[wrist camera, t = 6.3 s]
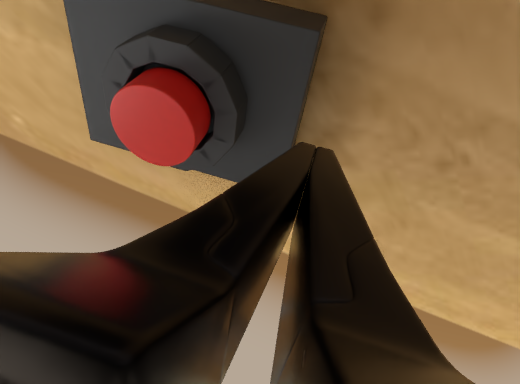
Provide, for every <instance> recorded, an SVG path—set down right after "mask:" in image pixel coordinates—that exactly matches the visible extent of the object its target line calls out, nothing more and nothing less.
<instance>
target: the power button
mask: <svg viewBox="0 0 520 384" xmlns="http://www.w3.org/2000/svg"><path fill="white" fill-rule="evenodd" d="M110 118H111V122H112V125H113V128H114V130H115V132H116V134H117V136H118V137H119V139H120V140H121V141H122V143H123V144H124V145H125V146H126V147H127V148H128V149H129V150H130V151H131V152H132V153H134V154H135V155H136V156H138V157H139V158H141V159H143V160H145V161H147V162H149V163H152V164H155V165H159V166H174V165H178V164H180V163H182V162H184V161H186V160H187V159H188V158H189V157H190V156H191V154H192V153H193V151H194V150H195V149H196V147H197V146H198V145H199V143H200V142H201V140H202V139H203V138H204V136H205V135H206V133H207V132H208V130H209V126H210V121H211V115H210V109H209V105H208V102H207V100H206V98H205V96H204V94H203V93H202V91H201V90H200V88H199V87H198V86H197V85H196V84H195V83H194V82H193V81H192V80H191V79H189V78H188V77H187V76H185V75H184V74H182V73H180V72H178V71H175V70H172V69H169V68H161V67H158V68H151V69H148V70H146V71H144V72H142V73H141V74H140V75H138V76H137V77H136V78H134V79H133V80H132V81H131V82H129V83H128V84H127V85H125V86H124V87H123V88H121V89H120V90H119V91H118V92H117V93H116V94H115V96H114V97H113V99H112V102H111V106H110Z"/></svg>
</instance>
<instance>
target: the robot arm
mask: <svg viewBox="0 0 520 384" xmlns="http://www.w3.org/2000/svg"><path fill="white" fill-rule="evenodd" d="M314 154H315V155H314ZM313 157H314V158H313ZM311 164H312V165H311ZM309 171H310V172H309ZM308 174H309V175H308ZM306 181H307V182H306ZM305 184H306V185H305ZM304 188H305V189H304ZM303 191H304V192H303ZM301 198H302V199H301ZM300 201H301V202H300ZM298 208H299V209H298ZM297 211H298V212H297ZM296 215H297V216H296ZM295 218H296V219H295ZM294 221H295V223H294ZM293 224H294V227H293ZM292 227H293V232H292V239H291V246H290V252H289V259H288V266H287V273H286V280H285V286H284V293H283V300H282V307H281V314H280V321H279V327H278V334H277V341H276V347H275V354H274V361H273V368H272V375H271V382H270V384H475V383H473V382H472V381H470V380H469V379H467V378H466V377H465V376H464V375H462V374H461V373H460V372H459V371H458V370H456V369H455V368H454V367H453V366H452V365H451V363H450V362H449V361H448V360H447V359H446V358H445V356H444V355H443V354H442V353H441V351H440V350H439V348H438V347H437V346H436V344H435V343H434V341H433V339H432V338H431V336H430V335H429V333H428V331H427V330H426V328H425V327H424V325H423V323H422V322H421V320H420V319H419V317H418V316H417V314H416V312H415V311H414V309H413V307H412V306H411V304H410V303H409V301H408V299H407V298H406V296H405V295H404V293H403V291H402V290H401V288H400V286H399V285H398V283H397V281H396V279H395V278H394V276H393V274H392V273H391V271H390V269H389V267H388V265H387V263H386V261H385V259H384V257H383V255H382V254H381V252H380V249H379V247H378V245H377V243H376V241H375V240H374V237H373V235H372V233H371V230H370V228H369V226H368V224H367V222H366V220H365V218H364V215H363V213H362V211H361V209H360V207H359V205H358V203H357V200H356V198H355V196H354V194H353V192H352V190H351V188H350V185H349V183H348V181H347V179H346V177H345V175H344V173H343V170H342V168H341V166H340V164H339V162H338V160H337V158H336V155H335V153H334V151H333V150H330V149H327V148H323V147H317V148H316V146H315V145H312V144H309V143H305V142H300V143H298V144H296V145H295V146H293V147H292V148H290V149H289V150H287V151H286V152H284V153H283V154H281V155H280V156H278V157H277V158H275V159H274V160H272V161H271V162H269V163H268V164H266V165H264V166H263V167H261V168H260V169H258V170H257V171H255V172H254V173H252V174H251V175H249V176H248V177H246V178H245V179H243V180H242V181H240V182H239V183H237V184H236V185H234V186H232V187H231V188H229V189H228V190H226V191H225V192H223V194H220V195H219V196H217V197H215V198H214V199H212V200H211V201H209V202H208V203H206V204H204V205H203V206H201V207H199V208H198V209H196V210H194V211H192V212H190V213H189V214H187V215H185V216H183V217H181V218H179V219H177V220H175V221H173V222H171V223H169V224H167V225H165V226H163V227H161V228H159V229H157V230H155V231H153V232H151V233H149V234H147V235H145V236H143V237H140V238H138V239H137V240H134V241H132V242H130V243H128V244H126V245H124V246H121V247H119V248H116V249H113V250H109V251H105V252H98V253H46V252H44V253H43V252H40V253H39V252H37V253H36V252H0V384H221V383H222V381H223V379H224V376H225V374H226V372H227V370H228V368H229V366H230V363H231V361H232V359H233V357H234V355H235V352H236V350H237V348H238V346H239V344H240V341H241V339H242V337H243V335H244V333H245V331H246V328H247V326H248V324H249V322H250V320H251V317H252V315H253V313H254V311H255V309H256V306H257V304H258V302H259V300H260V298H261V296H262V293H263V291H264V289H265V287H266V285H267V282H268V280H269V278H270V276H271V274H272V271H273V269H274V267H275V265H276V263H277V261H278V258H279V256H280V254H281V252H282V250H283V247H284V245H285V243H286V241H287V239H288V236H289V234H290V232H291V229H292Z"/></svg>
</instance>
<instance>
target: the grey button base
mask: <svg viewBox="0 0 520 384" xmlns="http://www.w3.org/2000/svg"><path fill="white" fill-rule="evenodd" d="M63 1H64V6H65V11H66V16H67V21H68V26H69V31H70V37H71V42H72V47H73V52H74V57H75V62H76V67H77V72H78V77H79V83H80V88H81V93H82V98H83V103H84V108H85V113H86V118H87V123H88V128H89V134H90V139H91V140H93V141H97V142H100V143H104V144H107V145H110V146H114V147H117V148H121V149H124V150H127V151H130V150H129V149H128V148H127V147H126V146H125V145H124V144H123V143H122V141H121V140H120V139H119V137H118V136H117V134H116V132H115V130H114V128H113V125H112V122H111V118H110V106H111V102H112V99H113V97H114V96H115V94H116V93H117V92H118V91H119V90H120V89H121V88H123V87H124V86H125V85H127V84H128V83H129V82H131V81H132V80H133V79H134V78H136V77H137V76H138V75H140V74H141V73H142V72H144V71H146V70H148V69H151V68H158V67H161V68H169V69H172V70H175V71H178V72H180V73H182V74H184V75H185V76H187V77H188V78H189V79H191V80H192V81H193V82H194V83H195V84H196V85H197V86H198V87H199V88H200V90H201V91H202V93H203V94H204V96H205V98H206V100H207V102H208V105H209V109H210V115H211V121H210V126H209V130H208V132H207V133H206V135H205V136H204V138H203V139H202V140H201V142H200V143H199V145H198V146H197V147H196V149H195V150H194V151H193V153H192V154H191V156H190V157H189V158H188V159H187V160H186V161H184V162H182V163H180V164H178V165H174V166H171V167H174V168H177V169H181V170H184V171H188V170H196V171H199V172H203V173H206V174H210V175H213V176H217V177H220V178H223V179H227V180H230V181H234V182H237V183H239V182H240V181H242V180H243V179H245V178H246V177H248V176H249V175H251V174H252V173H254V172H255V171H257V170H258V169H260V168H261V167H263V166H264V165H266V164H268V163H269V162H271V161H272V160H274V159H275V158H277V157H278V156H280V155H281V154H283V153H284V152H286V151H287V150H289V149H290V148H292V147H293V146H294V145H295V141H296V138H297V134H298V130H299V126H300V122H301V118H302V114H303V110H304V107H305V103H306V99H307V95H308V91H309V87H310V83H311V79H312V76H313V72H314V68H315V64H316V60H317V56H318V52H319V48H320V45H321V41H322V37H323V33H324V29H325V25H326V21H327V16H325V15H321V14H317V13H312V12H308V11H304V10H300V9H296V8H292V7H287V6H283V5H279V4H275V3H271V2H267V1H263V0H63Z"/></svg>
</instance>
